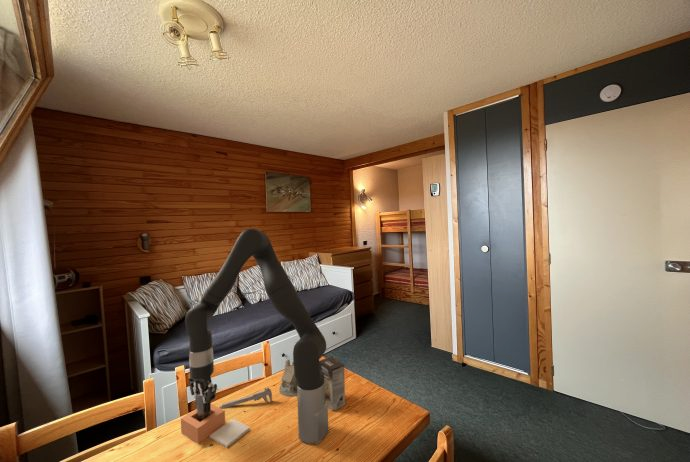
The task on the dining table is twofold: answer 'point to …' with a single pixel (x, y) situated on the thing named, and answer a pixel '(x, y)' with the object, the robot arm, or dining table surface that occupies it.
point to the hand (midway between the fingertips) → (203, 409)
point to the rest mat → (229, 433)
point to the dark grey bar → (201, 408)
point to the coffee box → (333, 382)
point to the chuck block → (202, 424)
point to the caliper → (250, 398)
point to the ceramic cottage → (288, 381)
